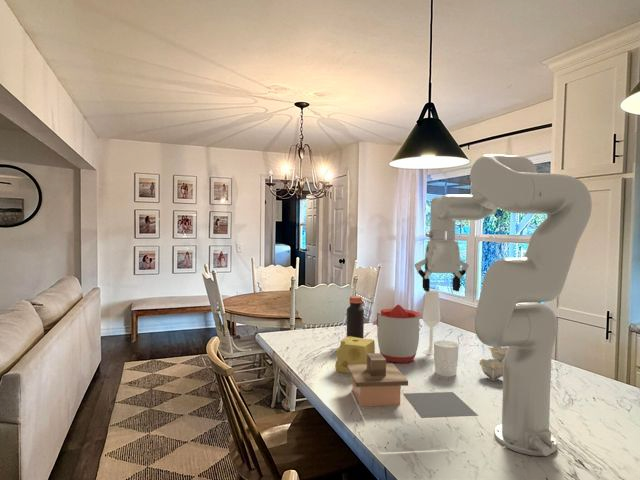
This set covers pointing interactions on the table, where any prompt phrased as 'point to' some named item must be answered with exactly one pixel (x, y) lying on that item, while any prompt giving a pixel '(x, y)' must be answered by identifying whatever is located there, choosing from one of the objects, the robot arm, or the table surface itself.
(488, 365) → the chinaware
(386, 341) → the citrus juicer
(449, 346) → the white cup
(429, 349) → the champagne flute
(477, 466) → the table surface
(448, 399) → the mat
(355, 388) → the salmon orange open box
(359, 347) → the cheese
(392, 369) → the lid
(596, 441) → the table surface
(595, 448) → the table surface
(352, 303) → the bottle
